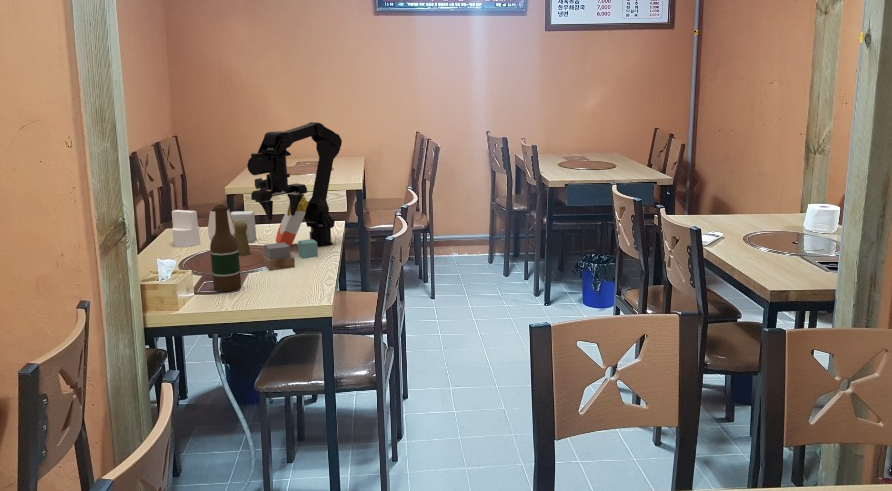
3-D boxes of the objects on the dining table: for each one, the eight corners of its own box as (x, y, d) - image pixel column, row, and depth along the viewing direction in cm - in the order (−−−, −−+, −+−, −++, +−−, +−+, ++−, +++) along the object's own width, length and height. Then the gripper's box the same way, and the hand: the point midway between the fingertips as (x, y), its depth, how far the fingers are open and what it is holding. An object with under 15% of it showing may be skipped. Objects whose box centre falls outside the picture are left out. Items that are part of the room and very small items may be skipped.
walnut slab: (287, 262, 248) (287, 252, 247) (294, 268, 241) (294, 257, 240) (263, 265, 244) (262, 255, 243) (269, 271, 237) (268, 260, 236)
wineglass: (214, 279, 228) (208, 213, 223) (209, 273, 235) (203, 209, 230) (241, 275, 232) (236, 210, 227) (235, 269, 238) (230, 206, 234)
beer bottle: (216, 284, 223) (209, 203, 217) (243, 283, 223) (237, 202, 218) (210, 292, 215) (203, 208, 210) (238, 291, 216) (232, 207, 210)
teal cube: (313, 253, 258) (312, 239, 257) (317, 256, 253) (317, 242, 252) (298, 255, 256) (297, 240, 254) (303, 258, 251) (302, 243, 250)
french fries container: (276, 247, 260) (296, 199, 257) (273, 237, 270) (293, 190, 267) (289, 251, 262) (309, 204, 259) (286, 241, 272) (305, 195, 268)
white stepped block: (168, 246, 271) (164, 212, 268) (185, 240, 279) (182, 208, 276) (188, 248, 268) (185, 214, 265) (205, 242, 276) (202, 209, 273)
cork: (245, 256, 255) (243, 223, 252) (228, 255, 256) (226, 223, 254) (253, 252, 261) (251, 220, 258) (237, 251, 262) (234, 219, 259)
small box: (256, 239, 280) (254, 210, 278) (253, 242, 275) (251, 213, 272) (234, 239, 280) (232, 211, 277) (230, 243, 274) (228, 214, 272)
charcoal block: (284, 252, 246) (284, 242, 245) (290, 257, 240) (289, 246, 240) (264, 255, 243) (264, 244, 242) (270, 259, 237) (269, 248, 237)
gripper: (285, 165, 261) (288, 210, 265) (239, 172, 247) (243, 220, 251) (306, 168, 254) (309, 214, 258) (260, 175, 240) (264, 224, 244)
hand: (281, 217), depth 253 cm, fingers open, 9 cm apart
